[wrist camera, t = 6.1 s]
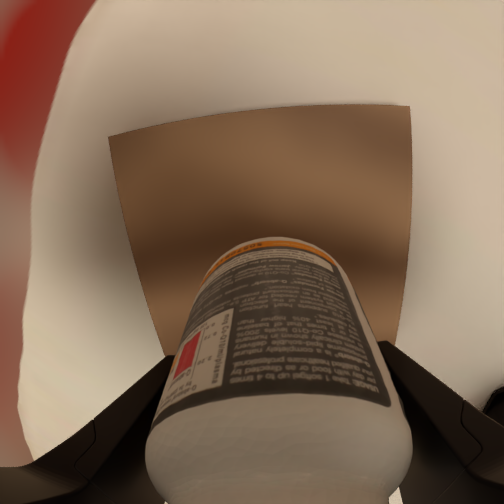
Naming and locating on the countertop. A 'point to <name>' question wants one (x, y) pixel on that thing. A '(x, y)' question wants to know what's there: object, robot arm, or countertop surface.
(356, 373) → the pill bottle
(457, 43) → the countertop surface
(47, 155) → the countertop surface
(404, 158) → the plinth
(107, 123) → the countertop surface
